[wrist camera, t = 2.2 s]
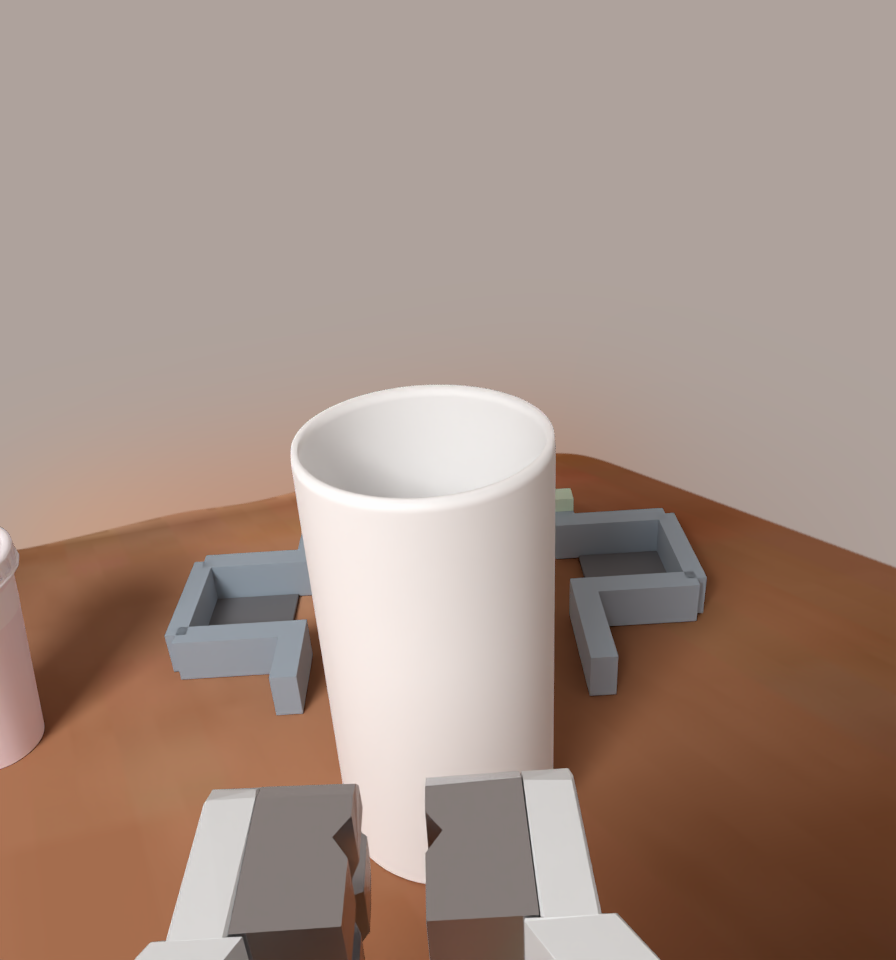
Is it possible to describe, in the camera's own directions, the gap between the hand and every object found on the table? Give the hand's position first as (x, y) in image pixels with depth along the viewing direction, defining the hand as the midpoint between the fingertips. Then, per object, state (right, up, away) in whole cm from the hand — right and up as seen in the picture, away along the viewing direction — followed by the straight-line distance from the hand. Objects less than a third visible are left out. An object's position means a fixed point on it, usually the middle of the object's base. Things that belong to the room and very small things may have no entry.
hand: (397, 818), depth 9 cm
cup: (+1, -9, +25) cm, 27 cm away
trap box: (0, -3, +35) cm, 35 cm away
